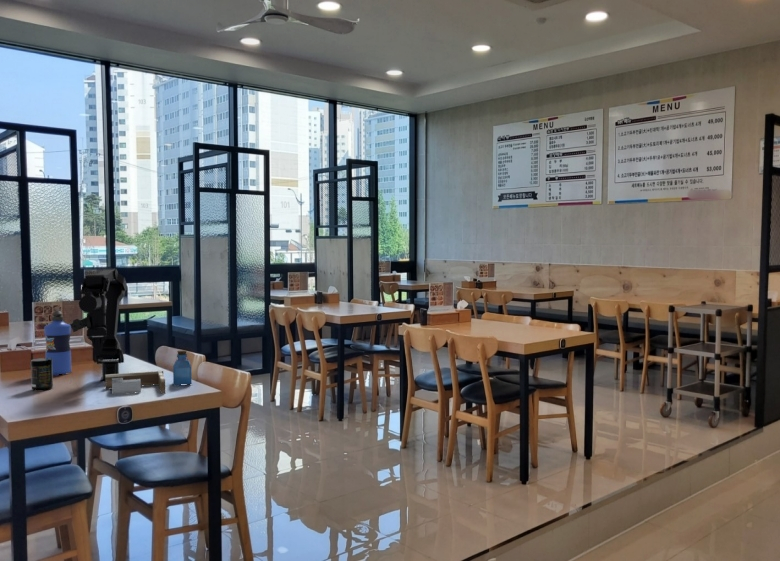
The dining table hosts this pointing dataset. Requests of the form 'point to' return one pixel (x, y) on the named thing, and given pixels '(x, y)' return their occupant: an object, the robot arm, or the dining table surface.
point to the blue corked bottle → (182, 369)
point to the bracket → (125, 386)
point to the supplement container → (41, 374)
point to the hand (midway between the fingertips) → (97, 354)
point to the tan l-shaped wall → (145, 378)
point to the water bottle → (58, 344)
